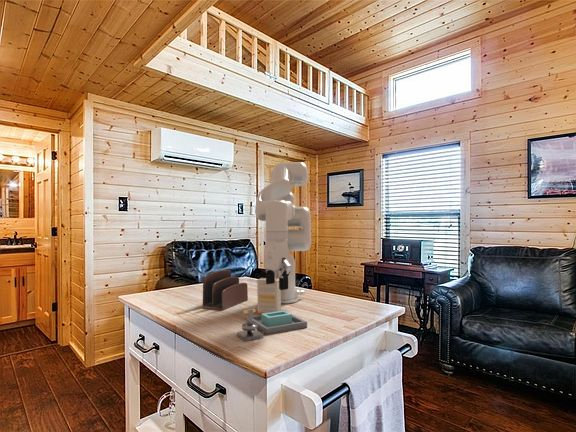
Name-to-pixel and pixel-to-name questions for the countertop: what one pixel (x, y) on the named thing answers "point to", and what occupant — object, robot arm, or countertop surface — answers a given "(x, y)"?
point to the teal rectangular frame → (276, 318)
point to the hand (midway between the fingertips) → (276, 286)
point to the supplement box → (268, 296)
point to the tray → (295, 324)
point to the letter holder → (223, 290)
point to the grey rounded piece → (249, 328)
